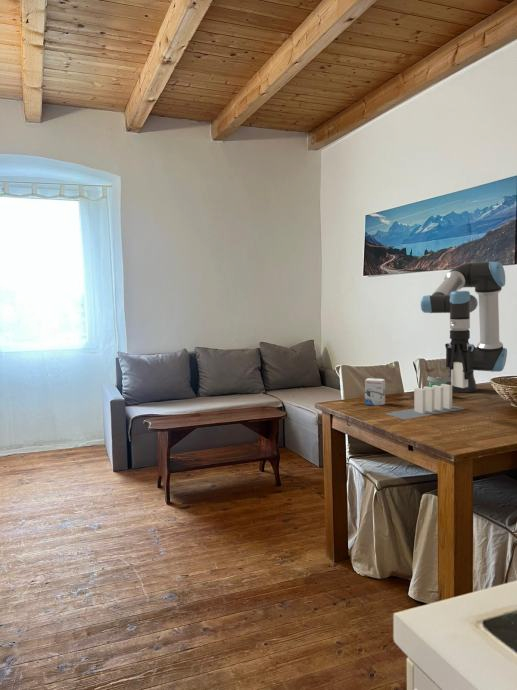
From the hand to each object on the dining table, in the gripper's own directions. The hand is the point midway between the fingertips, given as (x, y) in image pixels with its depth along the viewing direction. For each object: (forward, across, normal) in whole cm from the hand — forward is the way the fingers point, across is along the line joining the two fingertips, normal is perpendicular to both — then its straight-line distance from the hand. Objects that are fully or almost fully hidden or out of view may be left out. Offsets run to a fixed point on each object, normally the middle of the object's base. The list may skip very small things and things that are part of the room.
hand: (459, 385), depth 214 cm
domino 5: (0, 0, 0) cm, 0 cm away
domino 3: (+12, -13, +1) cm, 18 cm away
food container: (+14, -33, +20) cm, 41 cm away
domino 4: (+12, -13, +6) cm, 19 cm away
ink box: (+13, -37, -14) cm, 42 cm away
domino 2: (+12, -13, -4) cm, 18 cm away
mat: (+13, -13, -6) cm, 19 cm away
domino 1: (+12, -13, -9) cm, 20 cm away
